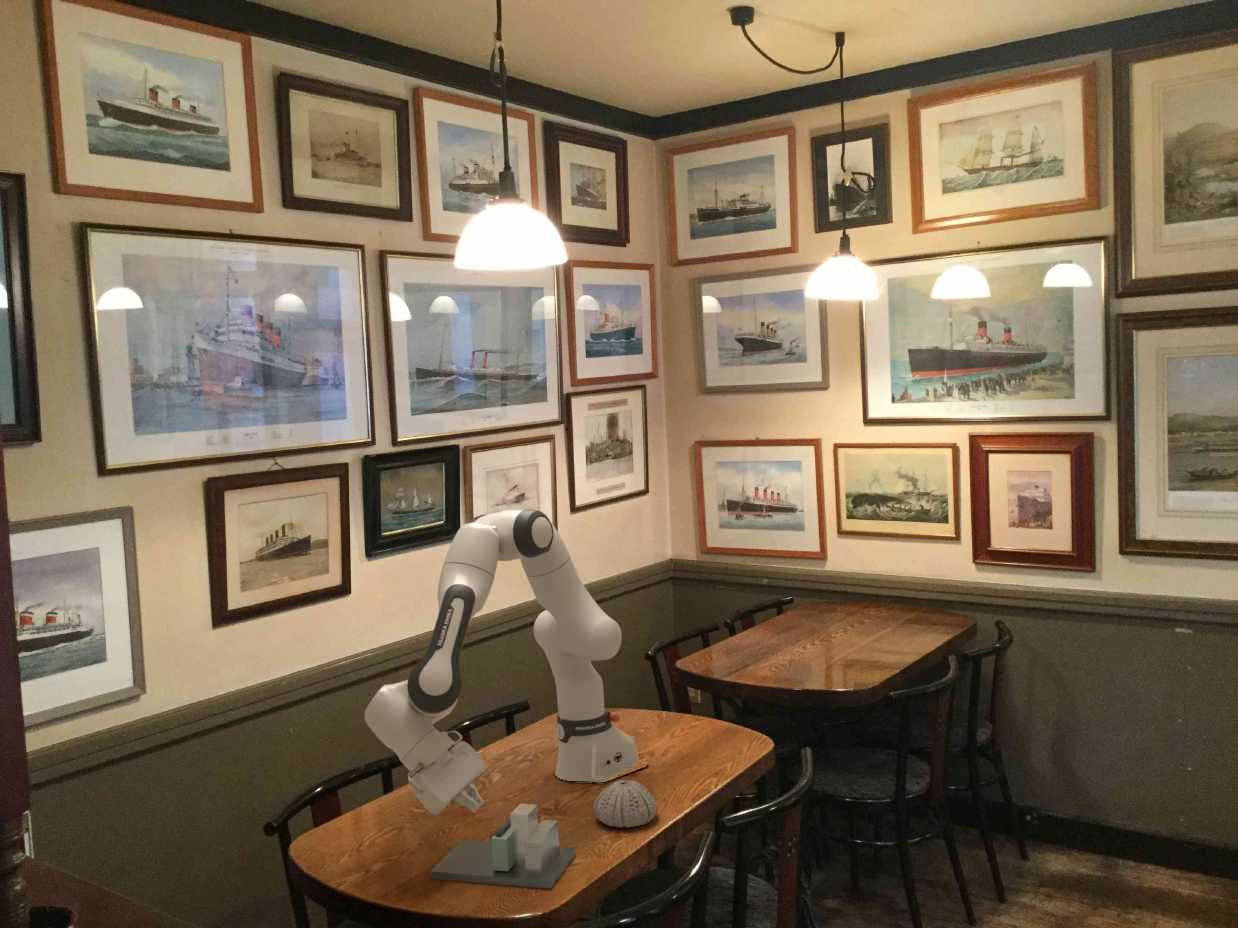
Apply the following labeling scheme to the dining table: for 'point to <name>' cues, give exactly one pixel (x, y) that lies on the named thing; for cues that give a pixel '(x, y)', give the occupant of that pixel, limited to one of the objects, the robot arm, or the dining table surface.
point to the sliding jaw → (502, 847)
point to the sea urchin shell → (625, 804)
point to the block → (522, 830)
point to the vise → (539, 871)
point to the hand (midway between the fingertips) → (479, 807)
